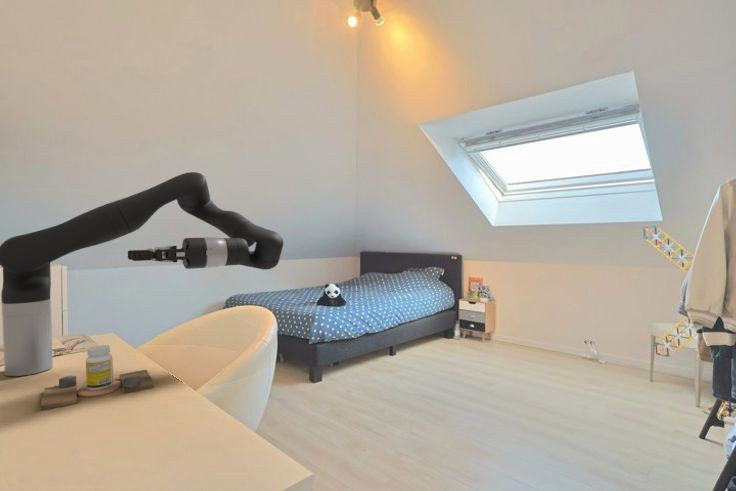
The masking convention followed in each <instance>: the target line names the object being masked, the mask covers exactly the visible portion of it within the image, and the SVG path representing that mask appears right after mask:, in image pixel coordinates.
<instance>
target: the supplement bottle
mask: <svg viewBox="0 0 736 491" xmlns="http://www.w3.org/2000/svg"><path fill="white" fill-rule="evenodd" d="M86 352H87V353H86V354H87V356H88V357H86V359H85V372H86V373H85V374H86V385H87V389H89V390H99V389H104V388H107V387H110V386H111V385H112V384H113V381H114V369H113V368H114V366H113V355H112V354H111V353H110V352H111V345H109V344H100V345H99V344H98V345H94V346H91V347H88V348H87V351H86Z"/></svg>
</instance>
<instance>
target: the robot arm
mask: <svg viewBox="0 0 736 491" xmlns="http://www.w3.org/2000/svg"><path fill="white" fill-rule="evenodd" d="M175 201H177V204H178V206H179V208H180V209H181V210H182V211H184V212H185V213H187V214H188V215H191V216H193V217H195V218H197V219H199V220H200V221H203V222H204V223H206V224H209V225H210V226H212V227H214V228H216V229H217V230H219V231H220V232H222V233H223V234H225V235H226V236H227V237H225V238H224V237H223V238H222V237H185V238H184V239H183V240H182V243H181V246H182V247H180V248H177V247H178V245H166V246H156V247H154V248H147V249H135V250H134V249H132V250H128V251H127V259H128V260H131V261H133V262H142V261H145V262H146V261H153V262H159V263H177V262H178V260H179V261H182V265H183V267H184V268H185V269H186V270H188V269H189V270H191V269H193V270H194V269H208V268H209V269H210V268H219V267H226V266H227V267H228V266H245V267H249V268H253V269H259V270H263V271H264V270H265V271H266V270H271V269H273V268H275V267H277V266H278V264H279V262H280V258H281V255H282V252H283V247H284V239H283V237H282V235H280V234H279V233H278V232H277V231H274V230H271V229H268V228H265V227H262V226H259V225H257V224H254V222H253V221H251V220H249V218H247V217H245V216H243V215H242V214H240V213H238V212H235V211H233V210H226V209H225V210H224V209H221V208H219V207H218V205H217V204H215V203H214V202H213V200H212V199H211V195H210V191H209V186H208V183H207V179H206V177H205V175H204V174H202V173H200V172H196V171H192V172H185V173H181V174H179V175H176V176H173V177H171V178H169V179H168V180H165V181H162V182H161V183H159V184H157V185H155V186H153V187H150V188H147V189H145V190H142V191H140V192H138V193H134V194H133V195H130V196H127V197H123V198H121V199H120V198H119V199H117V200H114V201H112V202H108V203H105V204H103V205H101V206H97V207H96V208H93V209H91V210H88V211H86V212H83V213H81V214H78V215H77V216H75V217H72V218H71V219H68V220H67V221H64V222H62V223H59V224H57V225H54V226H51V227H47V228H43V229H41V230H38V231H37V230H36V231H33V232H29V233H24V234H20V235H16V236H12V237H9V238H8V239H6V240H5V241H3V242H2V243H1V245H0V266H1V268H2V289H1V295H0V296H1V313H2V314H1V316H2V319H1V320H2V342H3V346H2V347H3V368H4V376H6V377H19V376H29V375H34V374H38V373H41V372H45V371H48V370H50V369H52V368H53V367H54V366H53V365H54V358H53V355H54V354H53V328H52V307H51V306H52V303H51V302H52V301H51V287H52V286H51V284H52V281H51V280H52V278H51V262H54V261H56V260H58V259H60V258H62V257H64V256H66V255H68V254H72V253H74V252H76V251H80V250H82V249H83V250H84V249H85V248H86V249H87V248H90V247H94V246H98V245H101V244H104V243H107V242H110V241H114V240H116V239H119V238H121V237H124V236H126V235H129V234H131V233H134V232H136V231H138V230H139V229H140V228H141V227H143V226H144V225H145V224H146V223H147V222H148V221H149V220H150V219H151V217H153V215H154V214H155V213H156V212H157V211H159V210H160V208H162V207H164V206H165V205H167V204H170V203H172V202H175ZM254 244H255V247H254V250H250V248H249V247H252V246H253V245H254Z"/></svg>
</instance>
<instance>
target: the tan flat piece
mask: <svg viewBox="0 0 736 491" xmlns="http://www.w3.org/2000/svg"><path fill="white" fill-rule="evenodd" d="M118 377H119V380H113V384H112V385H111V386H110V387H107V388H104V389H99V390H89V389H87V384H86V385H84V386H81V387H79V388H78V384H77V383H78V382H77V376H76V375H69V376H63V377H60V378H59V379H58V384H57V385H53V386H48V387H44V389H43V392H42V393H43V394H42V398H41V403H40V405H39V406H40V409H39V410H40V411H45V410H49V409H55V408H59V407H63V406H70V405H75V404H77V402H78V401H77V400H78V398H77V396H78V397H84V398H86V397H87V398H89V397H98V396H103V395H107V394H111V393H113V392H115V391H119V390H120V389H123V393H124V394H128V393H132V392H137V391H143V390H148V389H153V388H155V382H154V381H153V378H152V377H151V374H150V373H149V371H148V370H147V369H143V370H136V371H132V372H125V373H121V374H119V376H118Z"/></svg>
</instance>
